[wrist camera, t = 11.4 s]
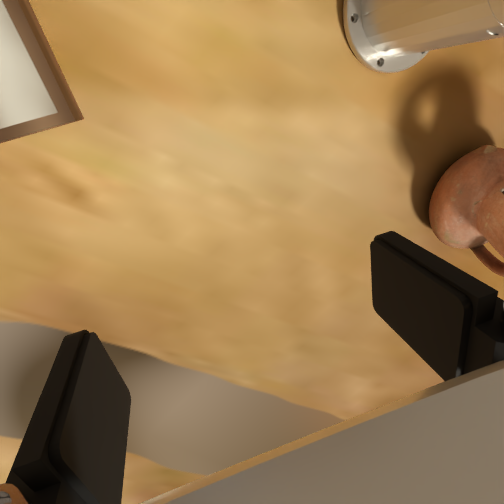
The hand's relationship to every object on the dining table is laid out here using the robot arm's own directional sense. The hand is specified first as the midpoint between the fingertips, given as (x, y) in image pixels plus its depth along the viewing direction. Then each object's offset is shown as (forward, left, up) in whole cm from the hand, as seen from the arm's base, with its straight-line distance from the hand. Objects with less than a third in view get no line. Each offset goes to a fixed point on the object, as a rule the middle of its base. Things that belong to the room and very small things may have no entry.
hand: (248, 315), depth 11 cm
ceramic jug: (-37, +17, -30) cm, 51 cm away
